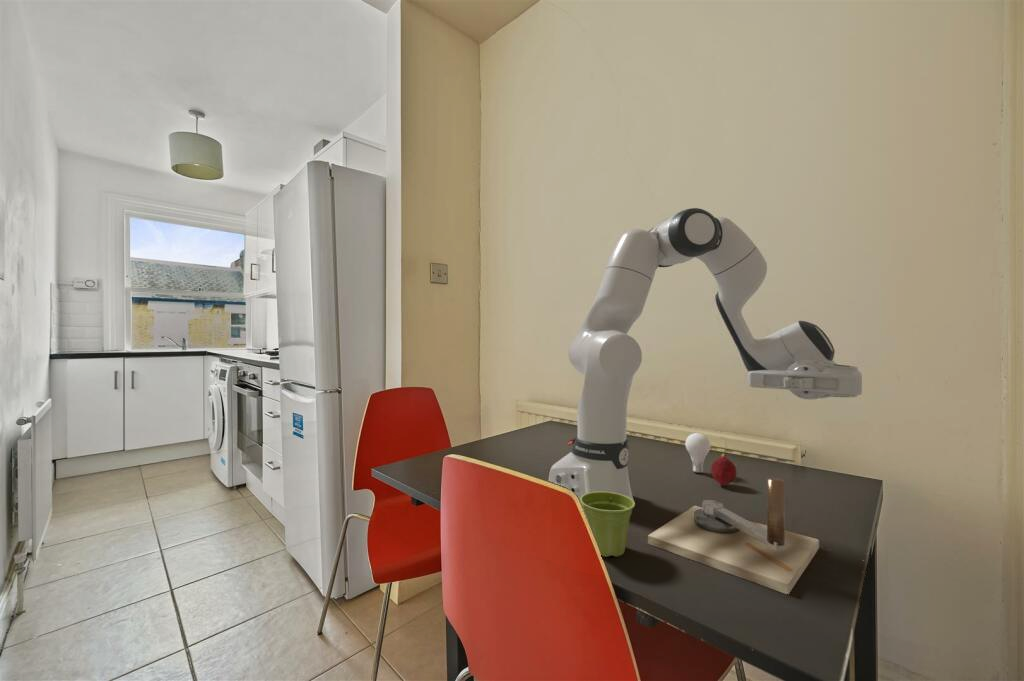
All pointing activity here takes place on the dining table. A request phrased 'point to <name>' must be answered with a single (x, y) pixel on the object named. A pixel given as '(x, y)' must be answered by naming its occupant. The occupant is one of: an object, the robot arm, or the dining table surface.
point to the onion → (723, 470)
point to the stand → (738, 551)
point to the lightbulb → (697, 450)
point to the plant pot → (608, 520)
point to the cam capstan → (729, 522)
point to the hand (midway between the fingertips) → (793, 383)
